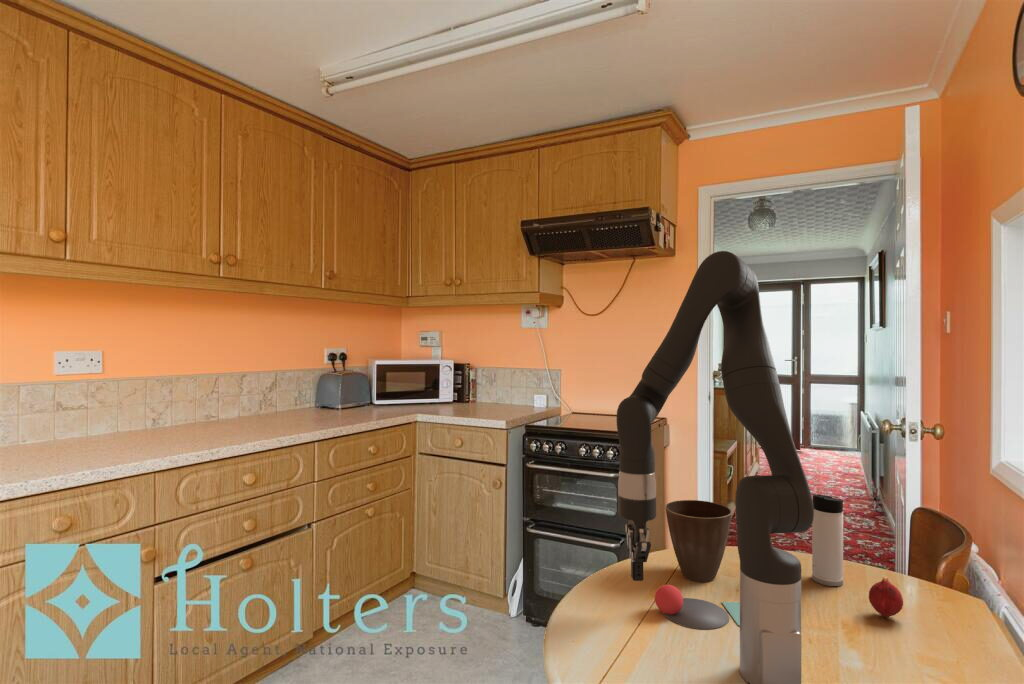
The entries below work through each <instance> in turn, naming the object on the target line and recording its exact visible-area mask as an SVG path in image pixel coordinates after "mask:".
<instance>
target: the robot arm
mask: <svg viewBox="0 0 1024 684" xmlns="http://www.w3.org/2000/svg"><path fill="white" fill-rule="evenodd" d="M759 290H760V288H759V282H758V277H757V275H756V273H755V271H754V270H753V268H751V266H749V265H748V264H747V263H746V262H744V261H743V259H741V258H740V257H739V256H737V255H736V254H734V253H733V252H730V251H727V250H719V251H716V252H712V253H711V254H709V255H708V256H707V257H706V258H705V259H703V260H702V261H701V263H700V265H699V266H698V268H697V269H696V272H695V274H694V276H693V278H692V280H691V282H690V284H689V286H688V289H687V292H686V294H685V296H684V297H683V300H682V302H681V304H680V306H679V308H678V311H677V313H676V316H675V317H674V320H673V321H672V323H671V326H670V328H669V329H668V331H667V333H666V335H665V337H664V339H662V341H661V343H660V345H659V346H658V348H657V350H655V352H654V354H653V355H652V357H651V358H650V361H649V362H648V363H647V365H646V366H645V368H644V369H643V371H642V373H641V379H640V380H639V382H638V383H637V385H636V386H635V388H634V390H633V391H632V393H631V394H630V395H629V396H628V397H626V398H624V399H622V400H621V401H620V403H619V405H618V407H617V410H616V429H617V437H618V438H617V439H618V442H619V443H618V444H619V472H618V473H619V475H618V481H617V482H618V485H617V489H618V490H617V493H618V494H617V495H618V497H617V501H618V502H617V503H618V506H617V507H618V511H617V512H618V516H619V517H620V518H622V519H623V520H626V521H627V524H625V525H624V530H625V531H624V532H625V537H626V546H627V553H628V554H629V556H628V557H629V559H630V577H631V579H632V581H635V582H641V581H643V580H644V563H647V562H648V559H649V554H650V551H651V546H652V544H651V541H648V539H649V537H650V529H649V528H648V527H647V522H650V521H653V520H654V519H656V516H657V481H656V472H655V471H656V470H655V469H656V467H655V465H656V457H655V456H656V455H655V454H656V453H655V449H654V446H653V444H652V424H653V423H654V422H655V420H656V419H657V417H658V416H659V414H660V412H661V411H662V409H663V407H664V406H665V403H666V402H667V400H668V399H669V396H670V394H672V392H673V391H674V389H675V388H676V387H677V386H678V384H679V383H680V381H681V379H683V377H684V375H685V374H686V372H687V371H688V369H689V368H690V366H691V365H692V362H693V359H694V357H695V355H696V352H697V347H698V345H699V344H698V343H699V342H700V341H699V340H700V336H701V334H702V330H703V328H704V326H705V323H706V321H707V319H708V317H709V315H710V314H711V312H712V311H713V310H714V308H715V307H716V306H717V309H718V310H719V313H720V316H721V320H722V324H723V328H724V329H723V331H724V336H725V337H724V338H725V340H724V345H723V346H724V347H723V351H722V357H721V360H720V361H721V363H720V371H721V372H720V373H721V379H722V384H723V389H724V395H725V399H726V403H727V405H728V408H729V409H730V411H731V412H732V414H733V415H734V417H735V418H736V419H737V420H738V422H739V423H740V424H741V425H742V426H743V428H745V429H746V431H747V432H748V433H749V434H750V435H751V436H752V438H754V439H755V441H756V442H757V444H758V445H759V446H760V448H761V450H762V453H763V454H764V456H765V458H766V461H767V463H768V466H769V470H770V473H771V474H768V475H764V474H763V475H747V476H744V477H742V478H741V479H740V480H739V481H738V483H737V486H736V490H735V499H734V500H735V502H734V503H735V504H734V505H735V518H736V519H735V520H736V521H735V522H736V540H737V541H736V542H737V543H736V545H737V551H738V557H739V602H740V626H739V673H741V674H740V676H741V675H742V676H741V677H742V679H743V680H744V681H745V682H747V683H748V682H749V683H750V684H802V655H803V653H802V647H803V646H802V640H803V639H802V638H803V637H802V564H801V561H800V559H799V558H798V557H797V556H796V555H794V554H792V553H790V552H788V551H786V550H783V549H781V548H778V547H774V546H772V540H771V534H793V533H794V534H797V533H804V532H807V531H808V530H810V528H811V527H812V523H813V519H814V506H813V495H812V492H811V488H810V485H809V483H808V480H807V477H806V474H805V471H804V468H803V465H802V463H801V459H800V456H799V454H798V451H797V448H796V445H795V442H794V438H793V436H792V432H791V428H790V424H789V420H788V417H787V412H786V409H785V405H784V400H783V395H782V390H781V389H782V388H781V385H780V381H779V377H778V372H777V368H776V365H775V362H774V357H773V355H772V351H771V347H770V346H771V345H770V343H769V340H768V339H769V338H768V335H767V332H766V329H765V325H764V321H763V314H762V307H761V295H760V291H759ZM749 683H748V684H749Z"/></svg>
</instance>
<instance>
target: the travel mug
mask: <svg viewBox="0 0 1024 684" xmlns="http://www.w3.org/2000/svg"><path fill="white" fill-rule="evenodd" d="M812 500H813V506H814V519H813V523H812V526H811V527H812V532H811V535H812V538H811V539H812V540H811V541H812V543H811V544H812V545H811V548H812V550H811V552H812V553H811V555H812V557H811V558H812V559H811V560H812V561H811V562H812V563H811V565H812V566H811V567H812V569H811V571H812V573H811V576H812V577H811V578H812V580H813V581H814V582H815V581H816V582H815V583H817V582H818V583H817V584H819V583H820V584H819V585H822V584H823V585H822V586H825V585H827V586H826V587H831V586H838V587H842V585H844V500H843V499H841V498H834V497H833V496H830V495H825V494H816V493H814V494H812Z"/></svg>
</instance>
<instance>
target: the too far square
mask: <svg viewBox="0 0 1024 684" xmlns="http://www.w3.org/2000/svg"><path fill="white" fill-rule="evenodd" d="M721 604H722V605H723V606H724V608H725V609H726V612H727V613H728V615H730V616H731V618H732V619H733V620H734V622H735V623H736V624H737V626H738V627H740V601H721Z"/></svg>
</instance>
